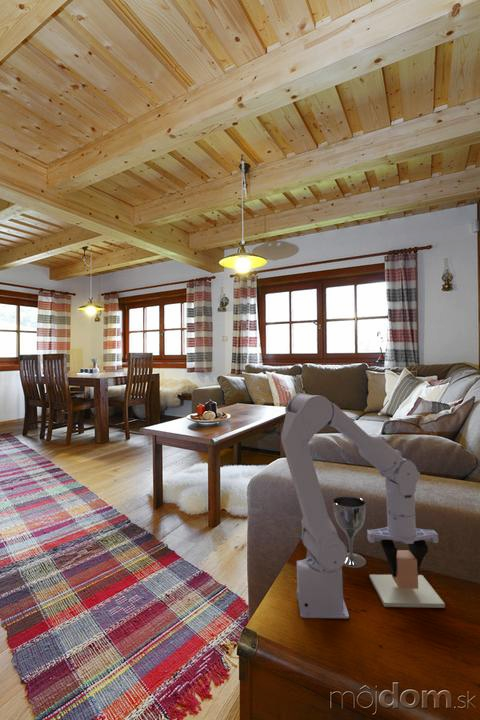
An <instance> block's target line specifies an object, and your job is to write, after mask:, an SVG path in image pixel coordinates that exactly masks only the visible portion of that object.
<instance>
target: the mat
mask: <svg viewBox="0 0 480 720" xmlns="http://www.w3.org/2000/svg"><path fill="white" fill-rule="evenodd" d="M369 579H370V581H371V584H372V586H373V587H374V589H375V591H376V593H377V595H378V597H379V599H380V600H381V603H382V605H383V606H384V608H385V607H386V608H390V607H391V608H437V609H438V608H439V609H440V608H443V609H445V608H446V604H445V602H444V601H443V599H441V597H440V595H438V593H437V592H436V590H434V588H433V587H432V585H431V584H430V583H429V582H428V580H427V579H426V577H424V575H422V574H418V589H399V588H398V586H397V584H396V583H395V581H394V580H393V578H392V574H369Z"/></svg>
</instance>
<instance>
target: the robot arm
mask: <svg viewBox="0 0 480 720" xmlns="http://www.w3.org/2000/svg"><path fill="white" fill-rule="evenodd" d="M284 409H285V411H284V412H285V417H284V422H283V426H282V429H281V430H282V431H281V435H280V439H281V444H282V447H283V451H284V455H285V458H286V459H285V460H286V461H287V465H288V468H289V469H288V470H289V473H290V476H291V479H292V482H293V487H294V489H295V490H294V491H295V493H296V496H297V501H298V503H299V507H300V512H301V514H302V518H301V520H300V523H301V528H302V530H301V541H302V544H303V546H304V547H305V548H306V556H305V558H304V559H300V560H296V585H297V586H296V587H297V588H296V590H295V591H296V599H297V601H298V607H299V614H300V615H299V616H300V617H301V618H304V619H309V618H310V619H347V620H348V619H349V618H350V614H349V611H348V608H347V605H346V603H345V600H344V591H343V590H344V589H343V585H344V584H343V569H342V568H343V566H344V564H345V562H346V559H347V553H348V549H347V546H346V545H345V543H344V542H343V541H342V540H341V539H340V537H339V534H338V531H337V529H336V527H335V525H334V524H333V521H331V518H330V517H329V514H328V510H327V506H326V503H325V500H324V496H323V493H322V488H321V485H320V481H319V479H318V478H319V477H318V475H317V471H316V469H315V464H314V460H313V458H312V454H311V450H310V446H309V443H310V442H311V440H312V438H313V437H314V436H315V435H316V434H317V433H318V432H320V430H322V429H323V428H324V427H325V426H328V427H331V428H334V429H335V430H337V431H338V432H339V433H341V434H342V435H343V436H344V437H345V438H347V439H348V440H350V441H351V442H352V443H353V444H355V445H356V446H358V453H359V455H360V457H362V458H363V459H364V460H366V462H368V463H369V464H370V465H372V466H373V467H374V468H376V469H377V470H378V471H379V474H380V476H381V477H383V478H385V479H384V480H385V481H384V482H385V499H386V501H385V502H386V518H387V519H386V521H387V524H386V525H387V526H386V527H381V528H376V529H366V535H367V536H366V537H367V540H368V542H369V543H371V544H372V543H373V544H375V542H379V543H380V545H381V547H382V549H383V552H384V554H385V556H386V560H387V563H388V566H389V572H390V573H391V574H390V575H393V577H396V575H397V566H396V558H397V550H398V549H397V547H396V545H395V543H394V542H402V543H403V544H406V545H408V550H409V551H410V552H411V553H412V554H413V556H414V557H415V558H416V559H417V570H418V574H419V573H420V568H421V565H422V562H423V560H424V558H425V556H426V554H428V552H429V547H428V545H427V544H426V542H431V543H433V544H437V543H439V534H438V533H437V532H436V531H435V530H434V529H425V528H424V529H422V528H417V525H416V523H417V522H416V503H415V501H416V500H415V493H416V491H417V490H416V488H417V487H416V485H417V483H418V482H419V480H420V477H421V475H420V474H421V472H420V471H419V470H418V469H417V466H416V464H415V462H413V461H412V460H410V459H407V458H404V457H403V456H402V452H401V451H400V450H399V449H394V448H393V447H392V446H390V444H388V443H387V439H386V438H385V437H384V436H382V435H378V434H368V433H367V432H366V431H365V430H363V428H361V427H360V425H358V424H357V423H356V422H355V421H354V420H353V419H352V418H351V417H349V416H348V415H347V413H345V412H344V411H343V410H342V409H341V408H340V407H339V406H338V405H337V404H336V403H334V402H331V401H330V400H329V399H328V398H327V397H325V396H323V395H318V394H317V395H314V394H307V393H305V392H304V393H303V392H301V393H298V394H295V395H294V396H292V397H291V399H290V400H289V402H288V404H287V405H286V406H285V408H284Z"/></svg>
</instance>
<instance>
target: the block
mask: <svg viewBox="0 0 480 720" xmlns="http://www.w3.org/2000/svg"><path fill="white" fill-rule="evenodd" d="M396 566H397V575H396V577H393V575H392V574H391V575H392V578H393V580H394V581H395V583H396V584H397V586H398V588H399V589H418V575H419V573H418V570H417V559H416V558H415V557H414V556H413V554H412V553H411V552H410V551H409V549H408V550H407V549H406V550H405V549H404V550H403V549H401V550H400V549H397V558H396Z"/></svg>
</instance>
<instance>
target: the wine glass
mask: <svg viewBox="0 0 480 720" xmlns="http://www.w3.org/2000/svg"><path fill="white" fill-rule="evenodd" d="M332 501H333V503H332V506H333V513H334V517H335V521H336V523H337V525H338V526H339V528H341V530H342V531H343V533H344V534H345V535H346V537H347V539H348V547H349V552H347V559H346V562H345V564H344V565H343V566H344V567H347V568H351V569H352V568H353V569H358V568H359V569H360V568H363V567H364V566H366V564H367V561H366V558H364V557H363V556H362V555H360V554H357V553H354V552H353V544H354V537H355V536H356V534H357V533H358V532H359V531H360V530H361V528H362V527H363V526H364V523H365V519H366V501H365V500H364V499H362V498H361V497H358V496H352V495H340V496H336V497H334V498H333V500H332Z"/></svg>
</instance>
